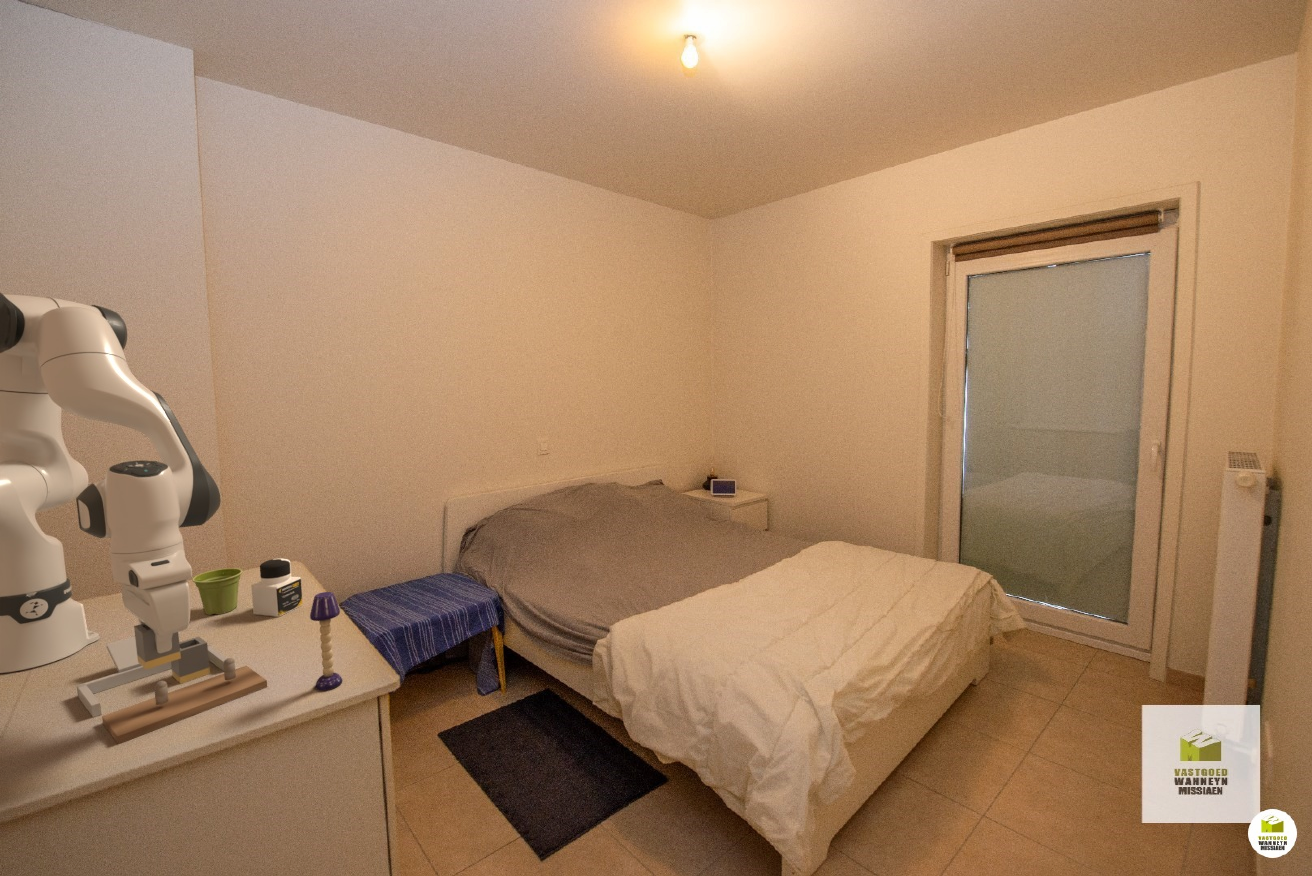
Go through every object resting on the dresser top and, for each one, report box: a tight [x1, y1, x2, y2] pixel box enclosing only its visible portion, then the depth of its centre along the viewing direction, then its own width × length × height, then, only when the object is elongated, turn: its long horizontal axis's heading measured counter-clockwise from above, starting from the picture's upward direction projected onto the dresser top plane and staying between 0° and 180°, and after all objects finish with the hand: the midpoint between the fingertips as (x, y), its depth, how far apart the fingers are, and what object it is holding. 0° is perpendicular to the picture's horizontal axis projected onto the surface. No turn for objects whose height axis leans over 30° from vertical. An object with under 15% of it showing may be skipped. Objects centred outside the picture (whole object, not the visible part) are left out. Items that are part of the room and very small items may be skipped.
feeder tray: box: [76, 635, 228, 718], centre depth 107 cm, size 18×19×5 cm
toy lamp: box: [309, 591, 343, 692], centre depth 104 cm, size 5×5×17 cm
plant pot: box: [191, 567, 243, 615], centre depth 137 cm, size 9×9×9 cm
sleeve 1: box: [133, 623, 181, 669], centre depth 94 cm, size 4×4×6 cm
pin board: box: [101, 657, 268, 745], centre depth 98 cm, size 9×20×6 cm, turn 144°
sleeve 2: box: [171, 636, 211, 684], centre depth 108 cm, size 4×4×6 cm
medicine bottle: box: [251, 558, 303, 618], centre depth 137 cm, size 7×7×12 cm
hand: (157, 645), depth 95 cm, fingers closed on sleeve 1, 4 cm apart
